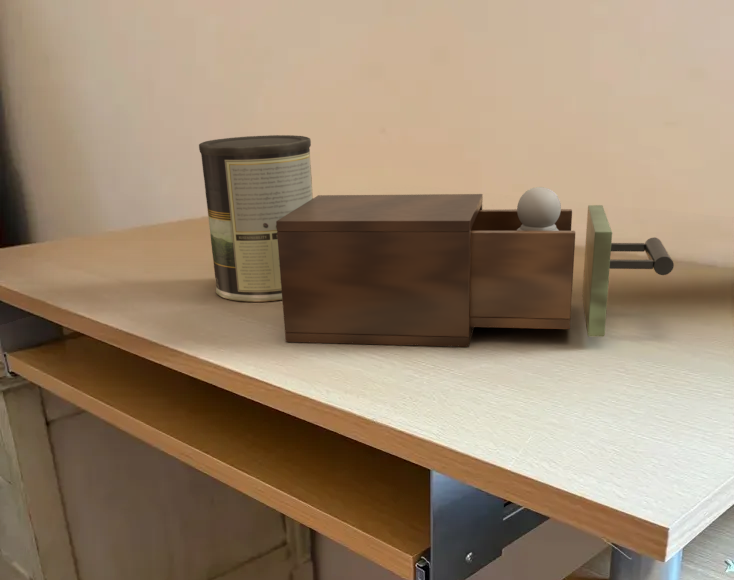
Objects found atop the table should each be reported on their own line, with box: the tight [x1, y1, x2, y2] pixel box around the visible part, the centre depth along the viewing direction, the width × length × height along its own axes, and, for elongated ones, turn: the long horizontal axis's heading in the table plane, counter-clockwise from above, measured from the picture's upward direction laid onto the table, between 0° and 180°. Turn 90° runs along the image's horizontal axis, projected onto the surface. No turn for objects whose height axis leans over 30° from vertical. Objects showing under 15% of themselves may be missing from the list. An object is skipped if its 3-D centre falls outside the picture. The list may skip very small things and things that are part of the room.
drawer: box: [470, 204, 675, 338], centre depth 66 cm, size 18×11×8 cm, turn 79°
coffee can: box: [198, 134, 314, 303], centre depth 79 cm, size 10×10×14 cm
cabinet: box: [276, 193, 484, 348], centre depth 69 cm, size 15×13×10 cm
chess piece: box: [516, 186, 562, 231], centre depth 66 cm, size 5×5×9 cm
